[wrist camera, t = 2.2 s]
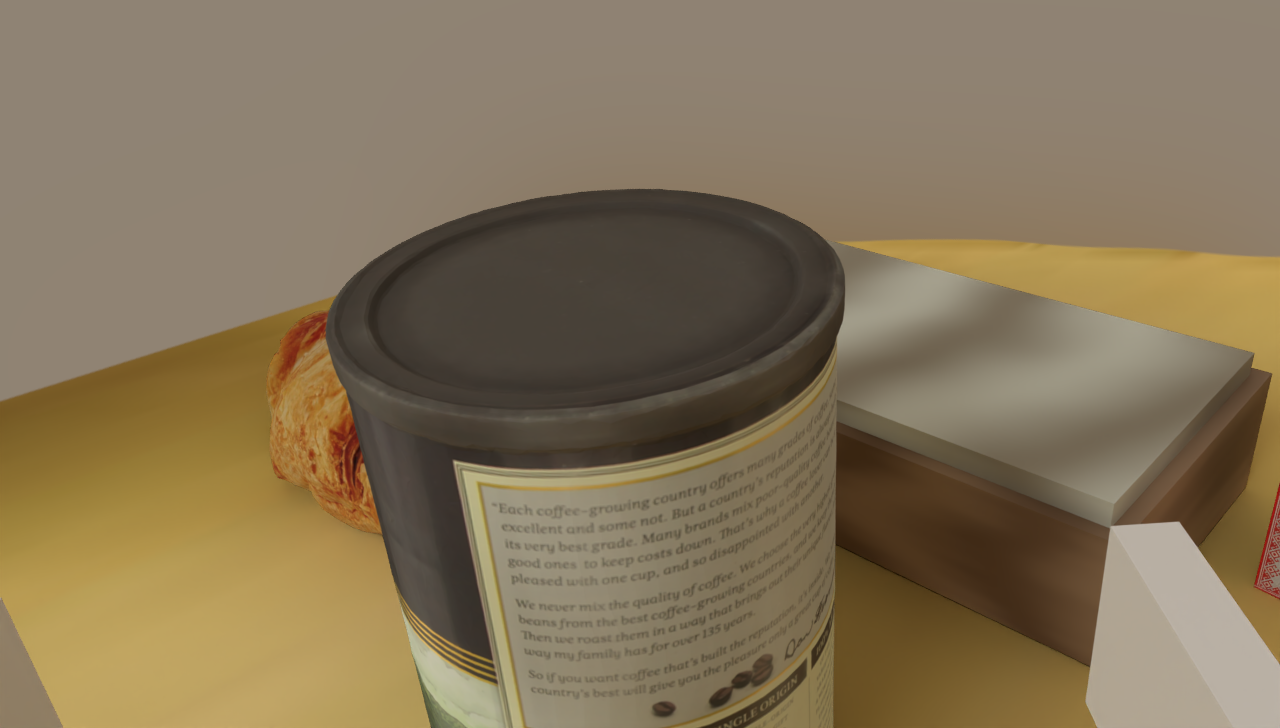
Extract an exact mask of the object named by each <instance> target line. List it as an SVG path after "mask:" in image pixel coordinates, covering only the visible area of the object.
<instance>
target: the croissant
mask: <svg viewBox="0 0 1280 728" xmlns="http://www.w3.org/2000/svg"><path fill="white" fill-rule="evenodd" d="M328 313H329V311H318V312H314V313H312V314H310V315H308V316H306V317H304V318H302V319H301V320H299V321H298V322H296V323H295V324H294V325H293V326H292V327H291V328H290V329H289V331H288V332H287V334H286V335H285V336H284V338H282V339H281V340H280V342H281V345H280V348H279V350H278V351H277V353H276V354H275V355H274V356H273V358H272V360H271V363H270V365H269V367H268V374H267V380H266V383H267V389H266V393H267V398H268V403H269V408H270V413H271V417H272V423H271V428H270V456H271V460H272V464H273V469H274V471H275V474H276V475H277V477H278V478H281V479H284V480H286V481H289V482H291V483H293V484H294V485H296V486H300V487H302V488H304V489H307V490H309V491H311V492H312V495H313V497H314V498H315V499H316V501H317V502H318V503H319V505H320V506H321V507H322V508H323V510H325V511H326V512H328V513H330V514H331V515H333V516H334V517H336V518H337V519H339V520H341V521H342V522H344V523H346V524H348V525H350V526H351V527H353V528H357V529H360V530H362V531H364V532H372V533H379V534H382V531H381V527H380V523H379V519H378V515H377V511H376V507H375V503H374V499H373V495H372V491H371V487H370V483H369V479H368V476H367V473H366V469H365V465H364V460H363V456H362V452H361V448H360V444H359V440H358V436H357V432H356V429H355V424H354V420H353V416H352V411H351V408H350V404H349V401H348V398H347V394H346V390H345V388H344V387H343V386H342V384H341V383H340V381H339V378H338V376H337V374H336V371H335V369H334V366H333V363H332V360H331V356H330V353H329V349H328V346H327V342H326V331H325V330H326V323H327V317H328Z"/></svg>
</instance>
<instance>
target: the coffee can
mask: <svg viewBox="0 0 1280 728" xmlns="http://www.w3.org/2000/svg"><path fill="white" fill-rule="evenodd" d="M844 309H845V274H844V269H843V266H842V263H841V261H840V259H839V257H838V255H837V253H836V252H835V250H834V249H833V248H832V247H831V246H830V245H829V244H828V243H827V241H826V240H825V239H823V238H822V237H821V236H820V235H819V234H818V233H816V232H815V231H813V230H812V229H811V228H810V227H808V226H806V225H805V224H803V223H801V222H799V221H797V220H795V219H792V218H790V217H788V216H786V215H785V214H782V213H780V212H777V211H774V210H772V209H769V208H767V207H764V206H761V205H757V204H754V203H751V202H747V201H743V200H738V199H734V198H729V197H723V196H718V195H711V194H706V193H698V192H688V191H674V190H663V189H625V190H602V191H588V192H578V193H572V194H563V195H557V196H547V197H541V198H535V199H530V200H526V201H521V202H516V203H512V204H508V205H504V206H500V207H496V208H491V209H487V210H483V211H481V212H478V213H474V214H470V215H467V216H465V217H462V218H459V219H456V220H453V221H450V222H447V223H445V224H442V225H440V226H438V227H435V228H433V229H430V230H428V231H425V232H423V233H421V234H419V235H416V236H414V237H412V238H410V239H408V240H406V241H404V242H402V243H401V244H399V245H397V246H395V247H393V248H392V249H390V250H388V251H387V252H385V253H384V254H382V255H380V256H379V257H378V258H376V259H374V260H373V261H371V262H370V263H369V264H368V265H367V266H365V267H364V268H363V269H362V270H360V271H359V272H358V273H357V274H356V275H354V276H353V277H352V278H351V279H350V280H349V281H348V282H347V283H346V285H345V286H344V287H343V288H342V290H341V291H340V292H339V294H338V295H337V297H336V298H335V299H334V301H333V304H332V306H331V308H330V310H329V313H328V317H327V323H326V330H325V331H326V342H327V346H328V349H329V353H330V356H331V360H332V363H333V366H334V369H335V371H336V374H337V376H338V378H339V381H340V383H341V384H342V386H343V387H344V388H345V390H346V394H347V398H348V401H349V404H350V408H351V411H352V416H353V420H354V424H355V429H356V432H357V436H358V440H359V444H360V448H361V452H362V456H363V460H364V465H365V469H366V473H367V476H368V479H369V483H370V487H371V491H372V495H373V499H374V503H375V507H376V511H377V515H378V519H379V523H380V527H381V531H382V535H383V539H384V543H385V547H386V550H387V554H388V559H389V563H390V567H391V571H392V575H393V579H394V582H395V586H396V590H397V593H398V598H399V602H400V606H401V610H402V613H403V617H404V621H405V625H406V629H407V633H408V637H409V641H410V646H411V651H412V655H413V658H414V662H415V665H416V669H417V673H418V677H419V681H420V685H421V689H422V693H423V697H424V702H425V706H426V710H427V714H428V717H429V721H430V725H431V728H833V675H834V598H835V498H836V410H837V335H838V333H839V330H840V328H841V325H842V322H843V317H844Z"/></svg>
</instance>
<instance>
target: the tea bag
mask: <svg viewBox="0 0 1280 728" xmlns="http://www.w3.org/2000/svg"><path fill="white" fill-rule="evenodd" d="M1254 587H1255V588H1257V589H1259V590H1261V591H1264V592H1266V593H1268V594H1270V595H1272V596H1274V597H1276V598H1278V599H1280V484H1279V488H1278V492H1277V496H1276V500H1275V504H1274V508H1273V512H1272V516H1271V520H1270V524H1269V528H1268V532H1267V536H1266V540H1265V544H1264V548H1263V552H1262V556H1261V560H1260V564H1259V568H1258V572H1257V576H1256V580H1255V584H1254Z"/></svg>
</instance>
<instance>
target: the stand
mask: <svg viewBox="0 0 1280 728" xmlns="http://www.w3.org/2000/svg"><path fill="white" fill-rule="evenodd" d="M826 241H827V243H828V244H829V245H830V246H831V247H832V248H833V249H834V250H835V252H836V253H837V255H838V257H839V259H840V261H841V263H842V266H843V269H844V274H845V309H844V317H843V322H842V325H841V328H840V330H839V333H838V335H837V410H836V498H835V544H836V545H838V546H841V547H843V548H845V549H847V550H849V551H851V552H853V553H855V554H857V555H859V556H861V557H863V558H865V559H868V560H870V561H872V562H874V563H876V564H878V565H880V566H882V567H884V568H886V569H888V570H890V571H893V572H895V573H897V574H899V575H901V576H903V577H905V578H907V579H909V580H911V581H913V582H915V583H917V584H920V585H922V586H924V587H926V588H928V589H930V590H932V591H934V592H936V593H938V594H940V595H942V596H945V597H947V598H949V599H951V600H953V601H955V602H957V603H959V604H961V605H963V606H965V607H967V608H969V609H972V610H974V611H976V612H978V613H980V614H982V615H984V616H986V617H988V618H990V619H992V620H994V621H996V622H999V623H1001V624H1003V625H1005V626H1007V627H1009V628H1011V629H1013V630H1015V631H1017V632H1019V633H1021V634H1024V635H1026V636H1028V637H1030V638H1032V639H1034V640H1036V641H1038V642H1040V643H1042V644H1044V645H1046V646H1048V647H1051V648H1053V649H1055V650H1057V651H1059V652H1061V653H1063V654H1065V655H1067V656H1069V657H1071V658H1073V659H1075V660H1078V661H1080V662H1082V663H1084V664H1086V665H1088V666H1091V659H1092V652H1093V645H1094V638H1095V631H1096V624H1097V617H1098V610H1099V603H1100V596H1101V589H1102V582H1103V575H1104V568H1105V561H1106V554H1107V547H1108V540H1109V533H1110V526H1120V525H1135V524H1151V523H1166V522H1180V524H1181V525H1182V526H1183V528H1184V529H1185V531H1186V532H1187V534H1188V535H1189V536H1190V538H1191V539H1192V541H1193V542H1194V543H1195V545H1196V546H1197V548H1198V547H1199V545H1200V544H1201V543H1202V542H1203V540H1204V539H1205V538H1206V537H1207V535H1208V534H1209V533H1210V532H1211V530H1212V529H1213V528H1214V526H1215V525H1216V524H1217V523H1218V521H1219V520H1220V519H1221V518H1222V516H1223V515H1224V514H1225V513H1226V511H1227V510H1228V509H1229V508H1230V506H1231V505H1232V504H1233V503H1234V501H1235V500H1236V499H1237V497H1238V496H1239V495H1240V494H1241V492H1242V491H1243V490H1244V489H1245V487H1246V485H1247V480H1248V476H1249V472H1250V467H1251V463H1252V459H1253V454H1254V450H1255V446H1256V442H1257V437H1258V433H1259V429H1260V424H1261V420H1262V416H1263V411H1264V407H1265V403H1266V398H1267V394H1268V390H1269V385H1270V381H1271V377H1272V373H1269V372H1265V371H1261V370H1258V369H1254V368H1251V366H1252V362H1253V357H1254V353H1252V352H1248V351H1245V350H1241V349H1237V348H1233V347H1230V346H1226V345H1222V344H1218V343H1214V342H1211V341H1207V340H1203V339H1199V338H1196V337H1192V336H1188V335H1184V334H1180V333H1177V332H1173V331H1169V330H1165V329H1161V328H1158V327H1154V326H1150V325H1146V324H1143V323H1139V322H1135V321H1131V320H1127V319H1124V318H1120V317H1116V316H1112V315H1109V314H1105V313H1101V312H1097V311H1093V310H1090V309H1086V308H1082V307H1078V306H1074V305H1071V304H1067V303H1063V302H1059V301H1056V300H1052V299H1048V298H1044V297H1040V296H1037V295H1033V294H1029V293H1025V292H1022V291H1018V290H1014V289H1010V288H1006V287H1003V286H999V285H995V284H991V283H987V282H984V281H980V280H976V279H972V278H969V277H965V276H961V275H957V274H953V273H950V272H946V271H942V270H938V269H935V268H931V267H927V266H923V265H919V264H916V263H912V262H908V261H904V260H900V259H897V258H893V257H889V256H885V255H882V254H878V253H874V252H870V251H866V250H863V249H859V248H855V247H851V246H848V245H844V244H840V243H836V242H832V241H829V240H826Z"/></svg>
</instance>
